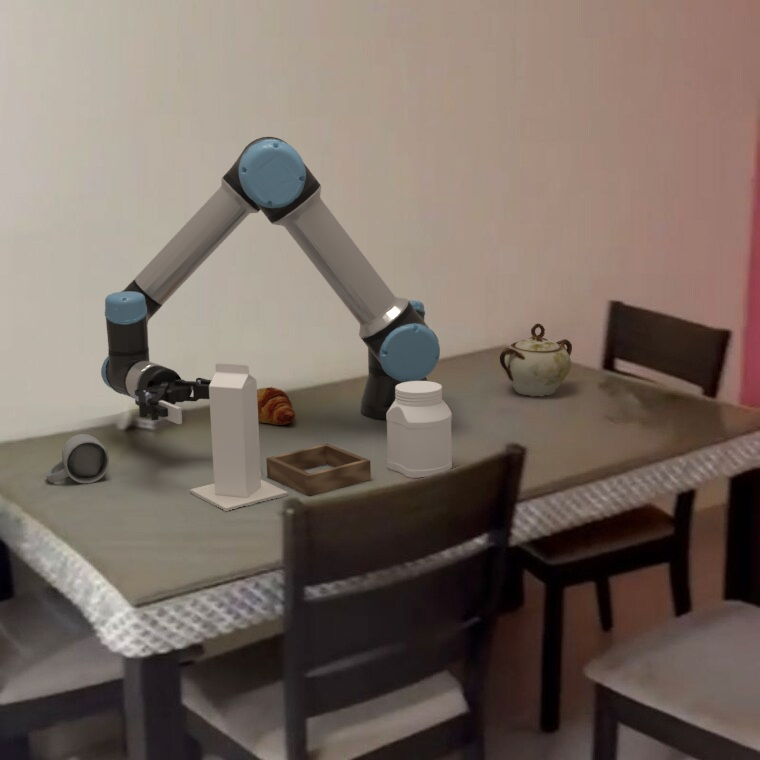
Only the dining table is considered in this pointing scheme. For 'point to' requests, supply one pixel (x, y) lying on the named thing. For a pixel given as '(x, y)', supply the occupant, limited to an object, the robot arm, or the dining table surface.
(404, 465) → the jar
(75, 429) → the dining table surface
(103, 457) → the ceramic mug
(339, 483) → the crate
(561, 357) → the sugar bowl
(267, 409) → the croissant
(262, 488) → the tile
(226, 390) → the milk
